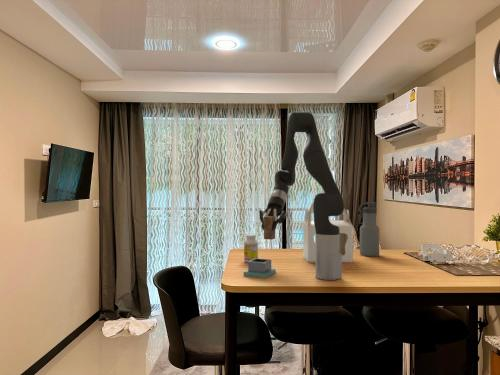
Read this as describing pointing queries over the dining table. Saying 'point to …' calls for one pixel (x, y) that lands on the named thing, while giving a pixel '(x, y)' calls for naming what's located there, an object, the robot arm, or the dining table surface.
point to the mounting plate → (261, 275)
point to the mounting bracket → (438, 256)
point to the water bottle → (369, 230)
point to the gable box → (344, 237)
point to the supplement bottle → (250, 247)
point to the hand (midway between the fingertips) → (267, 228)
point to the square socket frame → (259, 265)
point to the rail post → (269, 227)
